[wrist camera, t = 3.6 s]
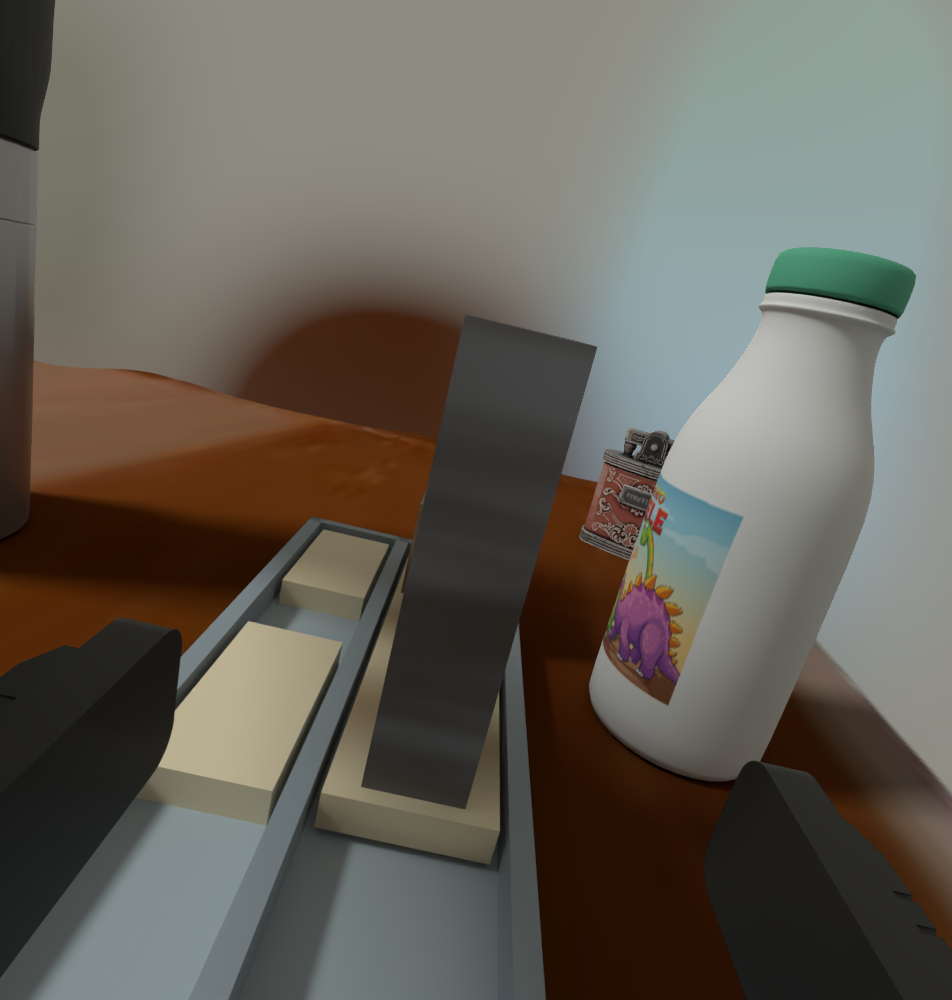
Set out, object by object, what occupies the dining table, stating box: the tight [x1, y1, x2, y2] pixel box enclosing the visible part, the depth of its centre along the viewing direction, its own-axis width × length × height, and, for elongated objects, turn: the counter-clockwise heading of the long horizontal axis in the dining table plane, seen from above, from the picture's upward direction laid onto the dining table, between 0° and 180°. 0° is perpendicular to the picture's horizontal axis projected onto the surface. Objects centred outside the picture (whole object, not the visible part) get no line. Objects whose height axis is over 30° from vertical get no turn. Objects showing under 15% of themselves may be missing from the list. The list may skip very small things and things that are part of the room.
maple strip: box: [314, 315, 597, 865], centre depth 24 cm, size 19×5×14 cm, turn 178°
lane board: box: [0, 517, 546, 1000], centre depth 21 cm, size 31×12×2 cm, turn 178°
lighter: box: [579, 428, 674, 560], centre depth 48 cm, size 8×3×10 cm, turn 63°
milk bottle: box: [589, 247, 916, 781], centre depth 25 cm, size 8×8×20 cm
